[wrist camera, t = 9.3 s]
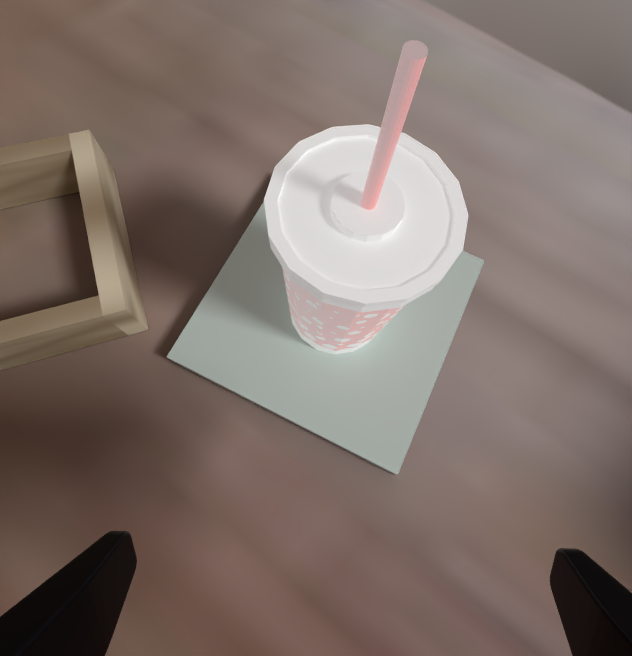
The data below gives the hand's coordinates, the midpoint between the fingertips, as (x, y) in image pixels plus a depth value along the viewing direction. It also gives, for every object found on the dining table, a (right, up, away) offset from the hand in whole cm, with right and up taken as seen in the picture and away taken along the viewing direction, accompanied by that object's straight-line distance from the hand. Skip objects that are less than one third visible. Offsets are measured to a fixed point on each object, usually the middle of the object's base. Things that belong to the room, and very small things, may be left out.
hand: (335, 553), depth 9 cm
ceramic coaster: (0, +6, +13) cm, 14 cm away
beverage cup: (+1, +6, +12) cm, 14 cm away
